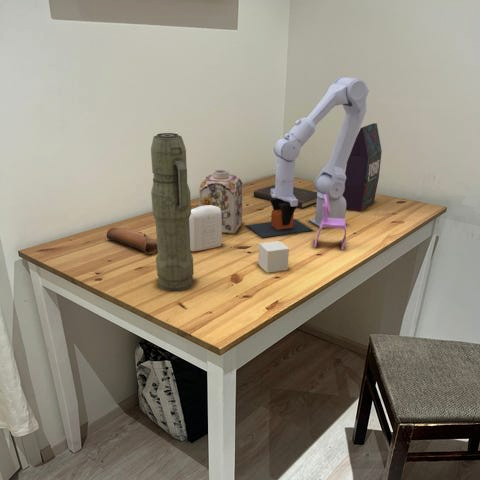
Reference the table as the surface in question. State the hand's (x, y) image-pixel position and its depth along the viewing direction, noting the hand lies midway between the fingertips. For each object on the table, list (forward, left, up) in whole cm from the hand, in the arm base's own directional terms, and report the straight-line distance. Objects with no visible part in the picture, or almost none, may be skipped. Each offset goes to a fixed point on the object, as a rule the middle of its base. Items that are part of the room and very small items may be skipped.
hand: (282, 222), depth 157 cm
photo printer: (+29, +7, -2) cm, 30 cm away
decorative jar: (+18, -8, -2) cm, 20 cm away
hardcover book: (-19, -30, -2) cm, 36 cm away
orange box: (0, 0, -1) cm, 1 cm away
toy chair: (-6, +19, -2) cm, 20 cm away
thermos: (+44, +27, -2) cm, 52 cm away
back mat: (+1, 0, -2) cm, 2 cm away
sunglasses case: (+47, -3, -2) cm, 47 cm away
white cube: (+17, +27, -2) cm, 32 cm away
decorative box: (-39, -13, -2) cm, 41 cm away
